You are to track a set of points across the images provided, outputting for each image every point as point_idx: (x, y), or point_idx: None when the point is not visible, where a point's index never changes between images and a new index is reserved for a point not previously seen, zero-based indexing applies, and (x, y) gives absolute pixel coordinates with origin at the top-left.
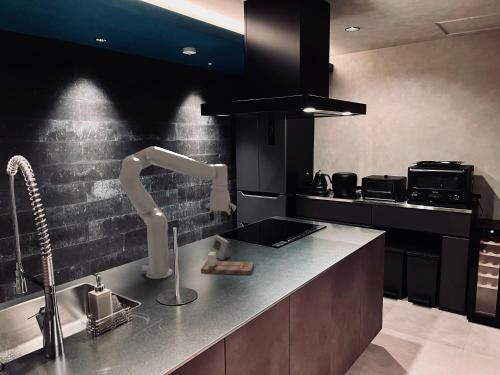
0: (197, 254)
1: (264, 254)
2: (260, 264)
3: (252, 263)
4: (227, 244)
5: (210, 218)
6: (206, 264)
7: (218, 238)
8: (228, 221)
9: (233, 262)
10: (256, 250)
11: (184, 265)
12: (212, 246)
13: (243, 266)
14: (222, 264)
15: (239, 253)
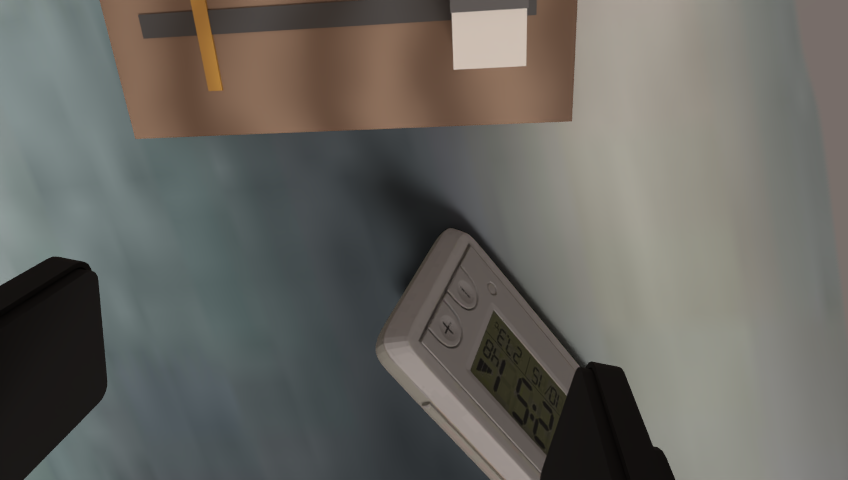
0: (702, 354)
1: (170, 386)
2: (118, 175)
3: (134, 106)
4: (388, 320)
5: (631, 408)
6: (552, 16)
7: (521, 455)
8: (43, 262)
9: (306, 110)
10: (254, 458)
11: (788, 64)
12: None
13: (181, 12)
14: (391, 39)
15: (358, 395)
